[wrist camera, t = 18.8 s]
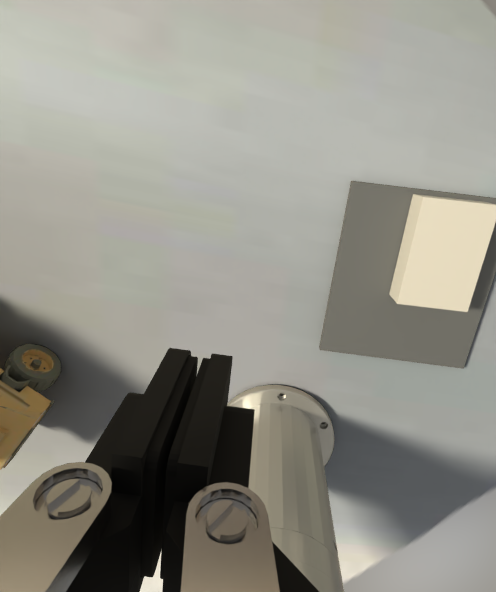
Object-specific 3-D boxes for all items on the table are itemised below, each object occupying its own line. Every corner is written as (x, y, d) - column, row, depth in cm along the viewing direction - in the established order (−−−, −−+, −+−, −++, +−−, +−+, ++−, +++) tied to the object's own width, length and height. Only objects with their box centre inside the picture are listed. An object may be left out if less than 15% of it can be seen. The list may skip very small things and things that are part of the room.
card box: (388, 293, 37) (454, 301, 37) (397, 303, 34) (467, 312, 34) (412, 193, 34) (484, 201, 34) (423, 196, 31) (500, 205, 31)
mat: (460, 365, 39) (463, 368, 39) (319, 347, 40) (319, 349, 39) (515, 200, 34) (519, 201, 33) (351, 180, 34) (352, 181, 34)
